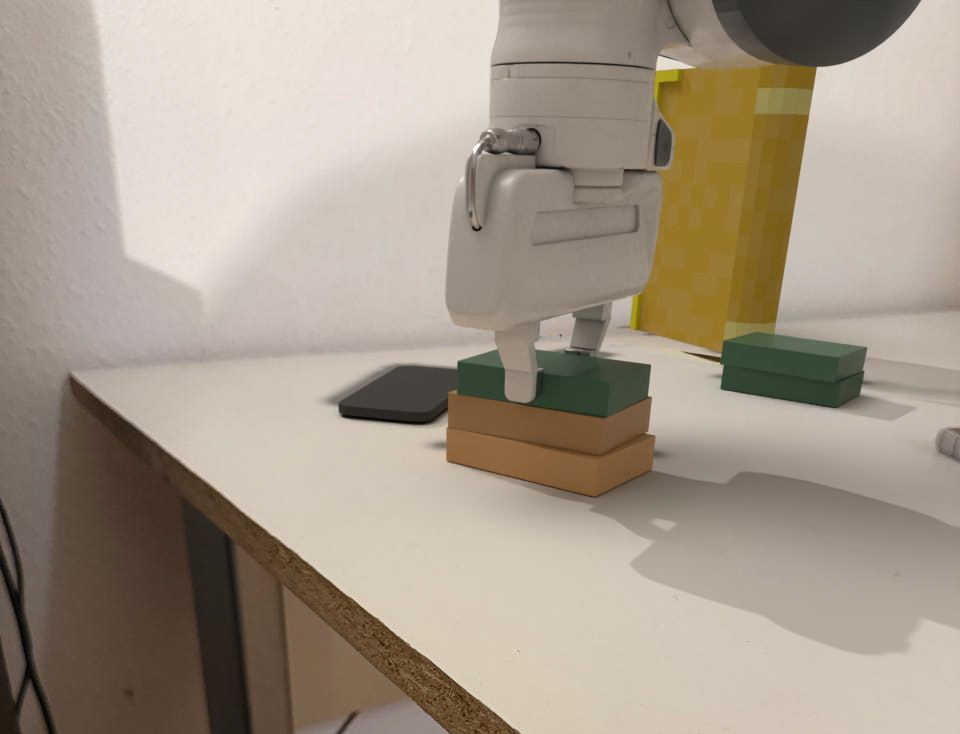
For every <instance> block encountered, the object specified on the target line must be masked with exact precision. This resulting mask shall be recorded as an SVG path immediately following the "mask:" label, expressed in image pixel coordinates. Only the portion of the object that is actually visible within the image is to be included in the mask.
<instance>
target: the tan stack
mask: <svg viewBox="0 0 960 734" xmlns="http://www.w3.org/2000/svg"><path fill="white" fill-rule="evenodd" d="M652 403H653V396H650V395H648V397H647V398H645V399H643V400H641V401H639V402H637V403H635V404H633V405H631V406H629V407H627V408H625V409H623V410H621V411H619V412H617V413H615V414H613V415H611V416H609V417H607V418H604V417H597V416H591V415H585V414H579V413H573V412H566V411H560V410H554V409H548V408H542V407H536V406H529V405H523V404H517V403H511V402H505V401H498V400H492V399H486V398H480V397H474V396H467V395H461V394H457V390H454V391H451V392H448V407H447V426H446V432H445V433H446V439H445V440H446V442H445V443H446V446H445V450H446V451H445V455H446V456H445V458H446V459H445V461H446V462H450V463H454V464H459V465H462V466H466V467H471V468H474V469H479V470H483V471H487V472H491V473H496V474H499V475H503V476H507V477H511V478H515V479H520V480H524V481H528V482H532V483H536V484H540V485H544V486H548V487H552V488H556V489H560V490H564V491H567V492H568V491H569V492H573V493H577V494H581V495H584V496H590V497H592V498H597V497H598V496H600V495H603V494H604V493H606V492H608V491H610V490H613V489H614V488H617V487H618V486H621V485H622V484H625V483H627V482H629V481H631V480H633V479H635V478H637V477H639V476H641V475H643V474H645V473H647V472H650V471H652V470H653V464H654V455H655V447H656V439H657V436H656V435H655V434H651V433H648V432H649V429H650V420H651V411H652Z"/></svg>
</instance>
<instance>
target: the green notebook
mask: <svg viewBox="0 0 960 734" xmlns="http://www.w3.org/2000/svg"><path fill="white" fill-rule="evenodd" d="M535 352H536V358H537V365H538V368H543V369H544V375H543V384H542V385H543V391H542V395H541V396H540V397H539V398H537V399H535V400H533V401H530V402H528V403H522V402H515V401H510V400H508V399H507V398H506V396H505V369H504V366H503V363H502V360H501V358H500V355H499V352H498V349H497V348H496V349H492V350H489V351H485V352H483V353H479V354H476V355H473V356H469V357H466V358H463V359H459V360H457V363H456V369H457V394H461V395H467V396H474V397H480V398H486V399H492V400H498V401H505V402H511V403H517V404H523V405H529V406H536V407H542V408H548V409H554V410H560V411H566V412H573V413H579V414H585V415H591V416H597V417H604V418H607V417H609V416H611V415H613V414H615V413H617V412H619V411H621V410H623V409H625V408H627V407H629V406H631V405H633V404H635V403H637V402H639V401H641V400H643V399H645V398H647V397H648V396H649V391H650V390H649V389H650V380H651V372H652V371H651V370H652V364H650V363H642V362H637V361H628V360H621V359H612V358H605V357H599V358H598V357H590V356H583V355H575V354H568V353H564V352H560V351H559V352H558V351H552V350H543V349H536V348H535Z"/></svg>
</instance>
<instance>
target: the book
mask: <svg viewBox="0 0 960 734" xmlns="http://www.w3.org/2000/svg"><path fill="white" fill-rule="evenodd" d="M817 69H818V67H807V66H792V65H780V64H775V65H769V66H762V67H756V68H747V69H729V70H703V69H699V68H695V67H690V68H671V69H660V70H659V69H658V70H656V71H655V72H656V75H655V85H654V97H653V98H655V99H656V101H657V103H658V108H659V110H660V112H661V114H662V116H663V117H664V119H665V120H666V122H667V123H668V124H669V126H670V127H671V128H672V130H673V131H674V134H675V148H674V157H673V163H672V166H671V167H670V168H669V169H668V170H665V171H657V172H658V173H659V174H660V176H661V179H662V184H663V197H662V207H661V215H660V222H659V229H658V236H657V243H656V249H655V255H654V261H653V266H652V270H651V274H650V276H649V279H648V282H647V284H646V286H645V288H644V290H643V292H642V293H641V294H639V295H635V296H632V299H631V301H632V302H631V310H630V321H629V330H633V331H641V332H645V333H647V334H651V335H655V336H659V337H663V338H665V339H666V338H667V339H670V340H675V341H678V342H682V343H685V344H688V345H692V346H696V347H699V348H703V349H707V350H711V351H714V352H718V353H720V354H721V353H722V346H723V340H727V339H731V338H735V337H738V336H742V335H746V334H750V333H754V332H761V333H768V334H775V331H776V324H777V320H778V319H777V318H778V312H779V307H780V300H781V295H782V288H783V281H784V275H785V270H786V269H785V268H786V262H787V257H788V251H789V244H790V237H791V232H792V226H793V218H794V212H795V206H796V200H797V194H798V188H799V183H800V182H799V181H800V176H801V169H802V162H803V157H804V150H805V144H806V139H807V132H808V126H809V120H810V114H811V107H812V102H813V101H812V100H813V96H814V95H813V94H814V90H815V89H814V88H815V84H816V83H815V82H816V76H817ZM680 352H681V353H685V354H689V355H691V356H696V357H699V358H702V359H705V360H706V359H707V360H710V361H713V362H716V363H720V361H721V356H716V355H709V354H703V353H695V352H689V351H682V350H680Z"/></svg>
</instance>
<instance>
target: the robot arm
mask: <svg viewBox="0 0 960 734" xmlns="http://www.w3.org/2000/svg"><path fill="white" fill-rule="evenodd" d="M921 2H922V0H498V23H497V31H496V36H495V40H494V42H493V46H492V50H491V54H490V61H489V67H490V68H489V90H488V91H489V95H488V97H489V98H488V128H487V129H484V131H482V132H481V134H480V135H479V140H478V141H477V143H476V144H475V145H474V148H473V149H472V151H471V153H469V154H468V155H467V157H466V160H465V167H464V173H463V174H462V175H461V177H460V179H459V180H458V182H457V185H456V188H455V190H454V195H453V200H452V206H451V213H450V222H449V230H448V231H449V232H448V240H447V241H448V243H447V253H446V267H445V285H444V286H445V287H444V302H445V307H446V310H447V312H448V315H449V317H450V319H451V321H452V323H453V324H454V325H455V326H458V327H463V328H470V329H476V330H486V331H494V343H495V347H496V349H498V352H499V355H500V358H501V360H502V363H503V366H504V369H505V396H506V398H507V399H508V400H510V401H515V402H522V403H528V402H530V401H533V400H535V399H537V398H539V397H540V396H541V395H542V391H543V385H542V384H543V375H544V369H543V368H538V365H537V358H536V352H535V349H536V345H535V342H538V341H539V340H540V331H541V322H543V321H546V320H547V321H548V320H550V319H554V318H558V317H562V316H565V315H569V314H571V317H572V318H574V320H575V321H574V325H573V328H572V329H573V330H572V333H571V339H570V345H569V347H566V348H564V352H563V353H568V354H575V355H583V356H590V357H598V358H600V349H601V347H602V344H603V342H604V340H605V336H606V333H607V331H608V328H609V325H610V322H611V320H612V309H613V302H616V301H620V300H624V299H627V298H631V297H632V298H633V296H635V295H639V294H641V293H642V292H643V290H644V288H645V286H646V284H647V282H648V279H649V276H650V274H651V270H652V266H653V261H654V255H655V249H656V243H657V236H658V229H659V222H660V215H661V207H662V197H663V184H662V179H661V176H660V174H659V173H658V172H657V171H665V170H668V169H669V168H670V167H671V166H672V163H673V157H674V148H675V134H674V131H673V130H672V128H671V127H670V126H669V124H668V123H667V122H666V120H665V119H664V117H663V116H662V114H661V112H660V110H659V108H658V103H657V101H656V99H655V98H653V97H654V85H655V75H656V72H655V71H657V65H658V58H659V57H662V58H666V59H668V60H673V61H676V62H680V63H681V64H685V65H687V66H689V67H691V68H699V69H703V70H729V69H747V68H756V67H762V66H769V65H775V64H780V65H792V66H807V67H817V68H827V67H834V66H838V65H843V64H845V63H846V64H847V63H849V62H852V61H854V60H856V59H859V58H861V57H863V56H865V55H866V54H868V53H870V52H872V51H874V50H875V49H876V48H878V47H879V46H881V45H882V44H883V43H884V42H886V41H887V40H888V39H889V38H891V37H892V36H893V35H894V34H895V33H896V32H898V30H899V29H900V28H901V27H902V26H903V25H904V24H905V23H906V21H908V19H909V18H910V17H911V15H912V14H913V13H914V12H915V10H916V9H917V7H918V6H919V5H920V3H921ZM483 151H484V152H486V153H483Z"/></svg>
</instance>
